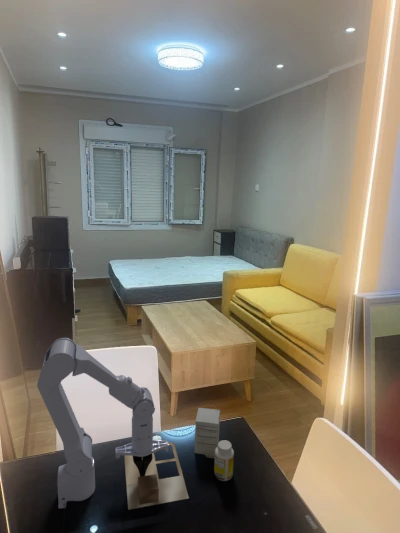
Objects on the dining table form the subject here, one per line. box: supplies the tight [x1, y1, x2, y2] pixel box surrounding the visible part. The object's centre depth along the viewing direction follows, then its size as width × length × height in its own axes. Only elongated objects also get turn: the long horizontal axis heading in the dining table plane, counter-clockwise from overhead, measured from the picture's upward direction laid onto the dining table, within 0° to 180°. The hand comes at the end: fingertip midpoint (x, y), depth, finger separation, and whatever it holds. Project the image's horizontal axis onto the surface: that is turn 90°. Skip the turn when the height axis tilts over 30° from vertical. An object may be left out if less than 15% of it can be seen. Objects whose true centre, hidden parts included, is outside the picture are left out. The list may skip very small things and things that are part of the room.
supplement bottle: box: [213, 439, 235, 482], centre depth 105 cm, size 6×6×10 cm
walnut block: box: [138, 474, 159, 505], centre depth 97 cm, size 5×5×4 cm
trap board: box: [123, 441, 190, 511], centre depth 105 cm, size 16×22×1 cm
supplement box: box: [194, 407, 221, 459], centre depth 115 cm, size 7×7×13 cm
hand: (142, 474), depth 102 cm, fingers closed
